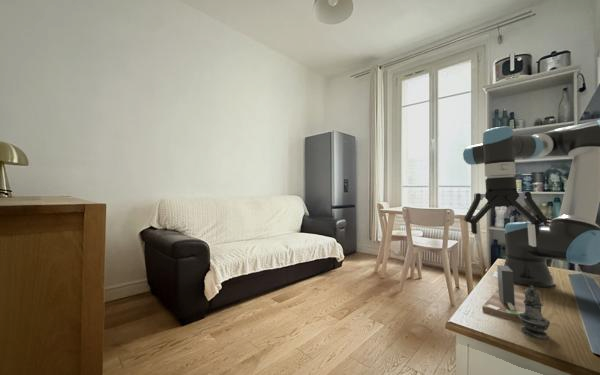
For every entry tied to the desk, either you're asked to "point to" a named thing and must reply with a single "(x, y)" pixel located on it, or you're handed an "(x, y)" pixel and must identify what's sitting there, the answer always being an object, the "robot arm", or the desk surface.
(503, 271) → the grey block
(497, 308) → the dial marks
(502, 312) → the board
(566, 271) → the desk surface
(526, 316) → the dark grey chess piece
